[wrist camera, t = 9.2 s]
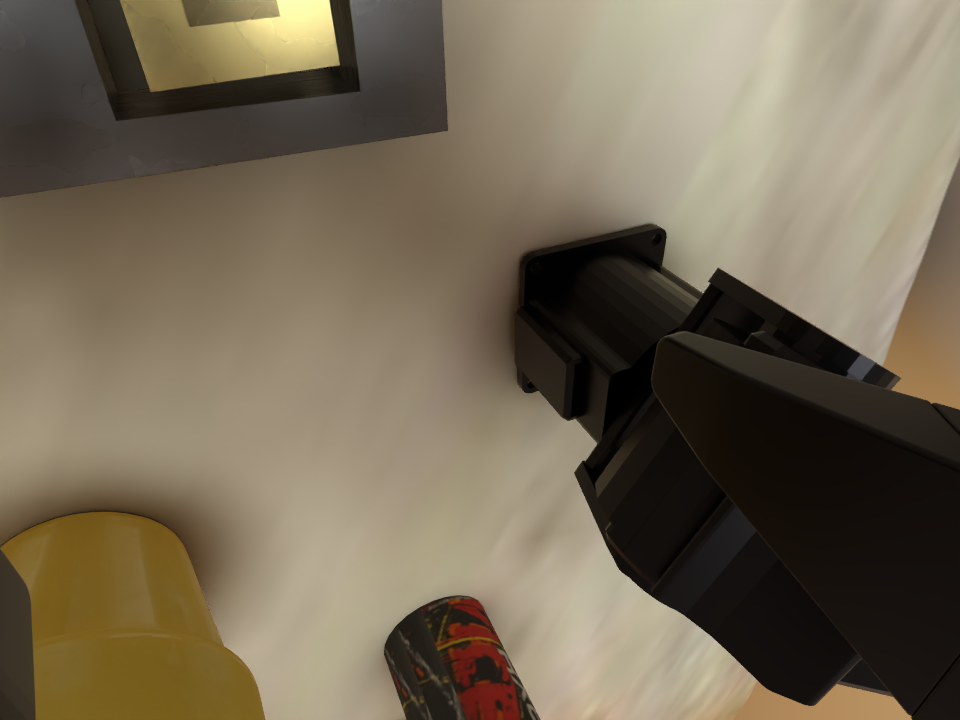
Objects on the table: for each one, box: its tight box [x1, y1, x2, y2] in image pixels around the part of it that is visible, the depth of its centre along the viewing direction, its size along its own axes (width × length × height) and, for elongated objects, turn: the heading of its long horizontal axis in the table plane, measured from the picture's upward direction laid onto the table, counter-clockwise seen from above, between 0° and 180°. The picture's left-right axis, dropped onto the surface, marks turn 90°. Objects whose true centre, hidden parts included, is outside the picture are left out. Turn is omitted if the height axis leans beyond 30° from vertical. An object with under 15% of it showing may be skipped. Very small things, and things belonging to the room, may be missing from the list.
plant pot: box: [0, 512, 265, 720], centre depth 20 cm, size 10×10×10 cm
